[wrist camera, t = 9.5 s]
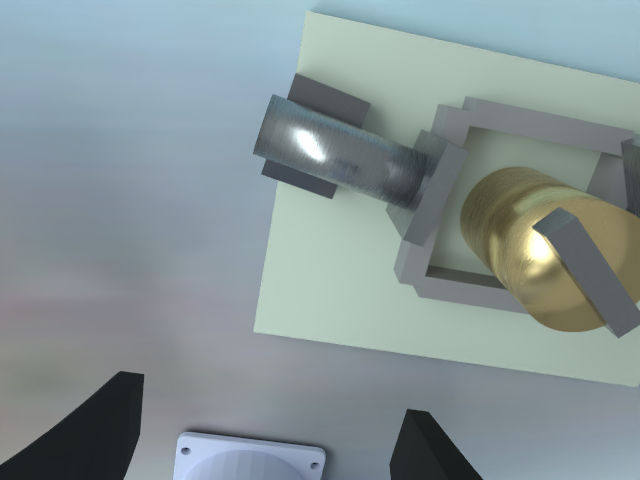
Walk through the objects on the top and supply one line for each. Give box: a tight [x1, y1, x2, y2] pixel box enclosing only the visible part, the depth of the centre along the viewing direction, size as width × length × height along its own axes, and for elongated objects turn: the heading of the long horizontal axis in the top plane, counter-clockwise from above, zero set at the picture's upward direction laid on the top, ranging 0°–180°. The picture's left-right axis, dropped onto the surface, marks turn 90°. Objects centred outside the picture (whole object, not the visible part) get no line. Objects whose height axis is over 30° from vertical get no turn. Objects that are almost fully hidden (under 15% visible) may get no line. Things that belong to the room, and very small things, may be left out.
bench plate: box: [253, 11, 640, 387], centre depth 20 cm, size 14×20×2 cm
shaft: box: [253, 73, 469, 247], centre depth 18 cm, size 7×4×5 cm, turn 69°
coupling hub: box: [460, 166, 640, 339], centre depth 17 cm, size 5×4×7 cm
